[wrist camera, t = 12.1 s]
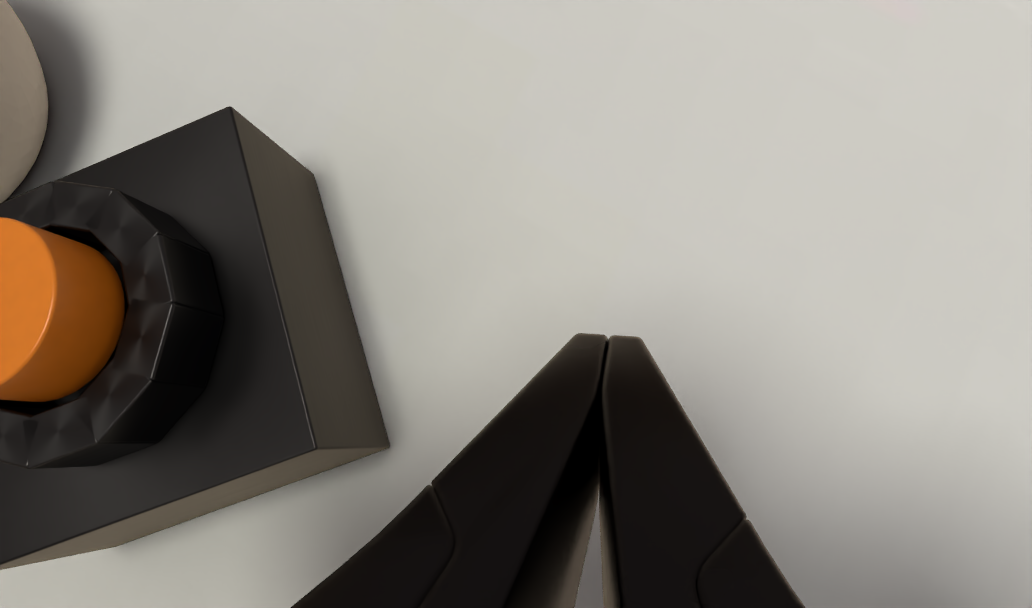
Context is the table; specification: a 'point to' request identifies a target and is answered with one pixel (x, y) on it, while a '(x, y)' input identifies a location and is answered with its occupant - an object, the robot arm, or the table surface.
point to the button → (54, 313)
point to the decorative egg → (19, 102)
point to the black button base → (190, 346)
